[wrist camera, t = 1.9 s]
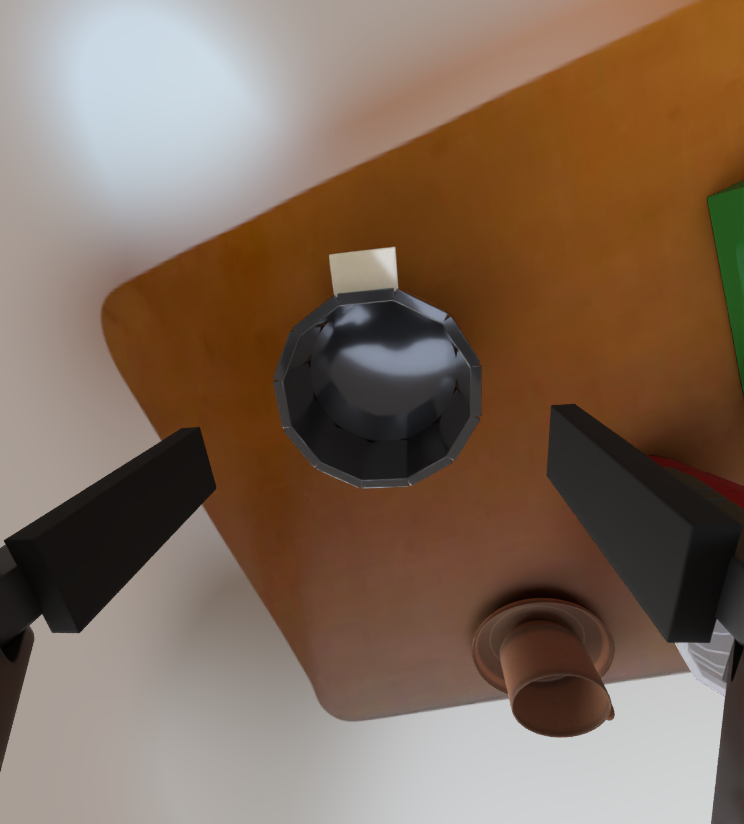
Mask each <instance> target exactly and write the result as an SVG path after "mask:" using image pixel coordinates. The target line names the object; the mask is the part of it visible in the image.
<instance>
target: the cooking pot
mask: <svg viewBox="0 0 744 824" xmlns="http://www.w3.org/2000/svg"><path fill="white" fill-rule="evenodd" d="M329 261H330V269H331V276H332V284H333V292H334V295H333V296H332V297H331V298H329V299H328V300H327V301H326V302H324V303H323V304H322V305H320V306H319V307H318V308H317V309H315V310H314V311H313V312H312V313H310V314H309V315H308V316H306V317H305V318H304V319H303V320H301V321H300V322H299V323H298V324H296V325H295V326H294V327H293V328H292V329H293V330H291V331H290V332H289V335H288V338H287V340H286V343H285V346H284V349H283V352H282V354H281V357H280V360H279V363H278V366H277V368H276V371H275V374H274V379H275V380H274V381H273V384H274V389H275V394H276V399H277V404H278V409H279V414H280V419H281V424H282V428H285V429H284V432H285V433H286V435H287V436H288V437H289V438H290V439H291V441H292V442H293V443H294V444H295V445H296V447H297V448H298V449H299V450H300V452H301V453H302V454H303V455H304V456H305V458H306V459H307V460H308V461H309V462H310V464H311V465H312V466H313V467H315V466H317V467H316V469H317V470H319V471H321V472H324V473H326V474H328V475H331V476H333V477H335V478H337V479H340V480H342V481H344V482H346V483H349V484H351V485H353V486H355V487H358V488H359V487H360V485H361V487H362V488H386V487H408V486H409V484H410V485H411V486H412V485H414V484H416V483H417V482H419V481H421V480H423V479H425V478H426V477H428V476H430V475H432V474H433V473H435V472H437V471H439V470H441V469H442V468H444V467H446V466H448V465H450V464H451V463H452V460H456V458H457V457H458V455H459V453H460V452H461V450H462V448H463V447H464V445H465V444H466V442H467V440H468V439H469V437H470V435H471V434H472V432H473V431H474V429H475V427H476V426H477V424H478V422H479V421H480V418H479V417H480V416H481V364H480V360H479V358H478V357H477V355H476V354H475V352H474V351H473V349H472V347H471V346H470V344H469V343H468V341H467V339H466V338H465V336H464V335H463V333H462V332H461V330H460V328H459V327H458V325H457V324H456V322H455V320H454V319H453V317H452V316H451V315H449V314H448V312H446V311H445V310H444V309H442V308H441V307H440V306H438V305H436V304H434V303H432V302H430V301H428V300H426V299H424V298H422V297H420V296H418V295H416V294H414V293H411V292H409V291H407V290H405V289H403V288H401V287H399V286H398V272H397V258H396V248H395V247H388V248H379V249H371V250H362V251H354V252H345V253H337V254H330V255H329ZM453 345H454V346H453ZM454 347H455V349H454Z"/></svg>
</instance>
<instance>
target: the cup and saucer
mask: <svg viewBox="0 0 744 824" xmlns="http://www.w3.org/2000/svg"><path fill="white" fill-rule="evenodd" d="M614 650H615V647H614V641H613V638H612V635H611V633H610V632H609V630H608V628H607V627H606V626H605V625H604V623H603V622H602V621H601V620H600V619H599V618H598V617H597V616H596V615H594V614H593V613H592V612H590V611H589V610H587V609H586V608H584V607H582V606H579V605H577V604H574V603H571V602H568V601H564V600H559V599H552V598H531V599H524V600H520V601H516V602H513V603H510V604H508V605H505V606H503V607H501V608H500V609H498V610H496V611H495V612H493V613H492V614H491V615H490V616H488V617H487V618H486V619H485V620H484V621H483V622H482V623H481V625H480V626H479V627H478V629H477V631H476V633H475V635H474V639H473V643H472V658H473V662H474V665H475V667H476V669H477V671H478V673H479V674H480V675H481V676H482V678H483V679H484V680H485V681H487V682H488V683H489V684H490V685H492V686H493V687H495V688H496V689H498V690H500V691H502V692H504V693H507V694H508V696H509V700H510V704H511V708H512V712H513V715H514V717H515V718H516V720H517V721H518V722H519V723H520V724H521V725H522V726H524V727H525V728H526V729H528V730H530V731H532V732H535V733H537V734H540V735H544V736H549V737H573V736H578V735H582V734H585V733H588V732H590V731H592V730H594V729H596V728H597V727H599V726H600V725H601V724H602V723H603V722H604V721H605V720H612V719H613V718H614V715H615V714H614V709H613V706H612V704H611V700H610V696H609V694H608V692H607V690H606V688H605V686H604V684H603V682H602V680H601V678H602V677H603V676H604V675H605V673H606V672H607V671H608V669H609V668H610V666H611V663H612V661H613V658H614Z"/></svg>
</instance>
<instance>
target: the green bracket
mask: <svg viewBox="0 0 744 824" xmlns="http://www.w3.org/2000/svg"><path fill="white" fill-rule="evenodd" d="M707 200H708V205H709V211H710V216H711V222H712V227H713V232H714V238H715V243H716V249H717V254H718V259H719V265H720V270H721V276H722V281H723V286H724V292H725V297H726V303H727V308H728V313H729V319H730V324H731V330H732V335H733V340H734V346H735V351H736V357H737V362H738V367H739V373H740V378H741V384H742V389H743V394H744V180H743V181H741V182H739V183H736V184H734V185H732V186H730V187H728V188H726V189H724V190H722V191H720V192H717V193H715V194H713V195H711V196H709V197H707Z"/></svg>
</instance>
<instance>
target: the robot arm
mask: <svg viewBox="0 0 744 824" xmlns="http://www.w3.org/2000/svg"><path fill="white" fill-rule="evenodd" d="M547 477H548V478H549V479H550V481H551V482H552V484H553V485H554V486H555V488H556V489H557V490H558V492H559V493H560V495H561V496H562V497H563V499H564V500H565V502H566V503H567V504H568V506H569V507H570V508H571V510H572V511H573V513H574V514H575V515H576V517H577V518H578V520H579V521H580V522H581V524H582V525H583V526H584V528H585V529H586V531H587V532H588V533H589V535H590V536H591V538H592V539H593V540H594V542H595V543H596V544H597V546H598V547H599V549H600V550H601V551H602V553H603V554H604V556H605V557H606V558H607V560H608V561H609V562H610V564H611V565H612V567H613V568H614V569H615V571H616V572H617V574H618V575H619V576H620V578H621V579H622V580H623V582H624V583H625V585H626V586H627V587H628V589H629V590H630V592H631V593H632V594H633V596H634V597H635V599H636V600H637V601H638V603H639V604H640V605H641V607H642V608H643V610H644V611H645V612H646V614H647V615H648V617H649V618H650V619H651V621H652V622H653V623H654V625H655V626H656V628H657V629H658V630H659V632H660V633H661V635H662V636H663V637H664V639H665V640H666V641H667V642H670V643H710V641H711V638H712V634H713V631H714V627H715V623H716V620H718V621H719V622H720V623H721V624H722V625H723V626H724V627H725V628H726V629H727V630H728V632H729V633H730V634H731V635H732V636H733V637H734V641H733V644H732V647H731V650H730V654H729V657H728V660H727V664H726V667H725V670H724V673H723V677H722V680H721V681H723V682H725V683H727V684H726V694H725V703H724V712H723V721H722V730H721V739H720V748H719V757H718V766H717V775H716V785H715V794H714V802H713V812H712V820H711V824H744V509H742V508H741V507H739V506H738V505H736V504H735V503H733V502H732V501H728V499H727V498H726V497H724V496H723V495H721V494H720V493H718V492H717V491H713V490H712V488H711V487H709V486H708V485H706V484H705V483H703V482H702V481H701V480H699V479H698V478H696V477H694V476H692V475H690V474H687V473H685V472H682V471H680V470H677V469H675V468H672V467H662V466H660V465H659V464H658V463H656V462H655V461H653V460H652V459H651V458H649V457H648V456H646V455H645V454H644V453H642V452H641V451H639V450H638V449H637V448H635V447H634V446H632V445H631V444H630V443H628V442H627V441H626V440H624V439H623V438H621V437H620V436H619V435H617V434H616V433H614V432H613V431H612V430H610V429H609V428H607V427H606V426H605V425H603V424H602V423H600V422H599V421H598V420H596V419H595V418H594V417H592V416H591V415H589V414H588V413H587V412H585V411H584V410H582V409H581V408H580V407H578V406H577V405H575V404H565V405H551V417H550V432H549V448H548V463H547ZM215 490H216V484H215V481H214V477H213V473H212V470H211V466H210V463H209V459H208V455H207V452H206V448H205V444H204V441H203V437H202V434H201V430H200V427H195V428H181V429H180V430H178V431H177V432H175V433H173V434H172V435H170V436H169V437H167V438H166V439H164V440H162V441H161V442H159V443H158V444H156V445H154V446H153V447H151V448H150V449H148V450H147V451H145V452H143V453H142V454H140V455H139V456H137V457H136V458H134V459H132V460H131V461H129V462H127V463H126V464H124V465H123V466H121V467H120V468H118V469H116V470H115V471H113V472H112V473H110V474H108V475H107V476H105V477H104V478H102V479H101V480H99V481H97V482H96V483H94V484H93V485H91V486H89V487H88V488H86V489H85V490H83V491H81V492H80V493H79V494H77V495H75V496H74V497H72V498H70V499H69V500H67V501H66V502H64V503H63V504H61V505H59V506H58V507H56V508H55V509H53V510H51V511H50V512H48V513H47V514H45V515H44V516H42V517H40V518H39V519H37V520H36V521H34V522H32V523H31V524H29V525H28V526H26V527H24V528H23V529H21V530H20V531H18V532H16V533H15V534H13V535H12V536H10V537H9V538H7V539H5V540H4V542H5V544H6V545H4V546H3V547H1V548H0V771H1V767H2V763H3V759H4V755H5V752H6V748H7V744H8V740H9V736H10V732H11V728H12V724H13V720H14V717H15V712H16V709H17V704H18V701H19V697H20V693H21V689H22V686H23V681H24V678H25V674H26V670H27V666H28V662H29V658H30V654H31V651H32V646H33V642H34V633H33V631H32V630H31V628H30V626H29V625H30V624H31V623H33V622H34V621H35V620H36V619H37V618H38V617H39V616H40V615H41V614H43V616H44V618H45V620H46V622H47V624H48V626H49V628H50V630H51V631H52V633H80V632H81V631H82V630H83V629H84V628H85V627H86V626H87V625H88V624H89V623H90V621H92V619H93V618H94V617H95V616H96V615H97V614H98V613H99V612H100V611H101V610H102V609H103V608H104V607H105V606H106V604H108V603H109V601H110V600H111V599H112V598H113V597H114V596H115V595H116V594H117V593H118V592H119V591H120V590H121V589H122V588H123V587H124V586H125V585H126V584H127V583H128V581H129V580H130V579H131V578H132V577H133V576H134V575H135V574H136V573H137V572H138V571H139V570H140V569H141V568H142V567H143V566H144V565H145V563H146V562H147V561H148V560H149V559H150V558H151V557H152V556H153V555H154V554H155V553H156V552H157V551H158V550H159V549H160V548H161V546H163V544H164V543H165V542H166V541H167V540H168V539H169V538H170V537H171V536H172V535H173V534H174V533H175V532H176V531H177V530H178V529H179V528H180V526H181V525H182V524H183V523H184V522H185V521H186V520H187V519H188V518H189V517H190V516H191V515H192V514H193V513H194V512H195V511H196V510H197V509H198V507H199V506H200V505H201V504H202V503H203V502H204V501H205V500H206V499H207V498H208V497H209V496H210V495H211V494H212V493H213V492H214V491H215Z"/></svg>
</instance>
